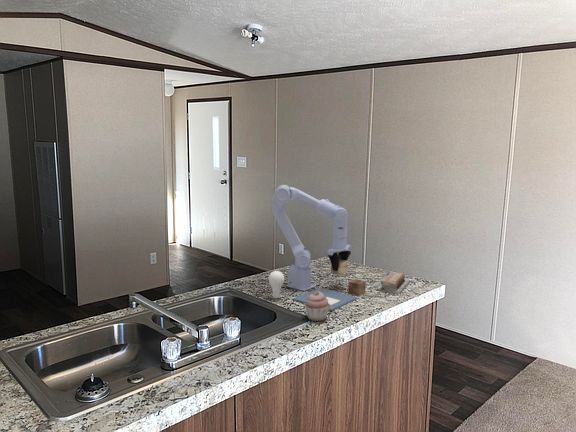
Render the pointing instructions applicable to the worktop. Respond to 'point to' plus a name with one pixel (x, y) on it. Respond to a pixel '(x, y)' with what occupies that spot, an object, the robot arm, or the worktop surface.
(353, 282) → the walnut block
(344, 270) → the maple block
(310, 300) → the cupcake
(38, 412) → the worktop surface
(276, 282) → the lightbulb
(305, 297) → the board
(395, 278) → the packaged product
